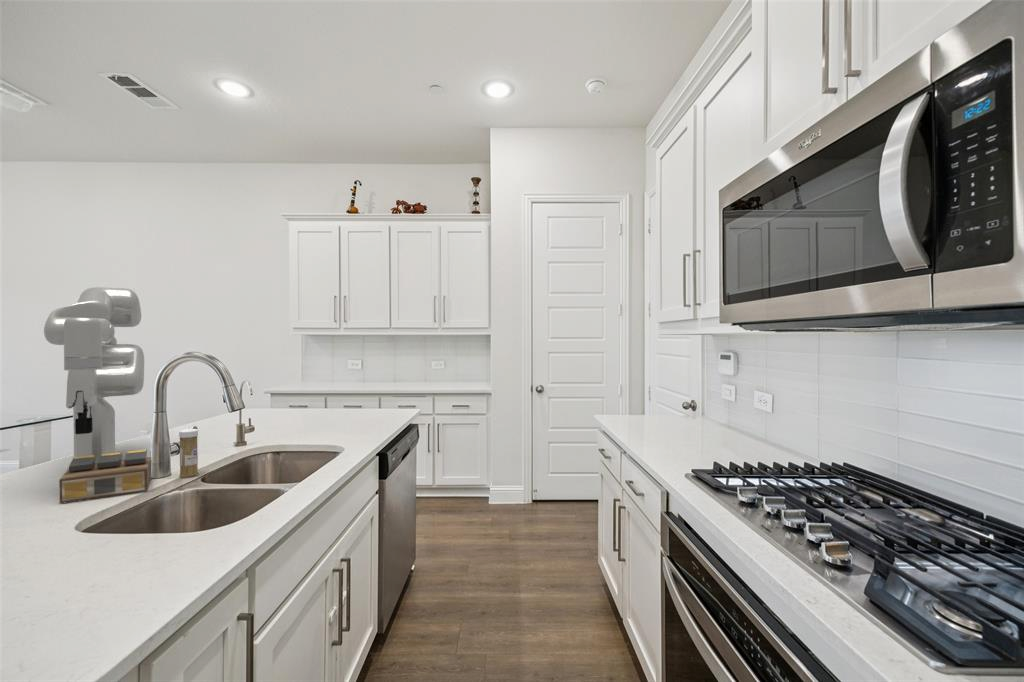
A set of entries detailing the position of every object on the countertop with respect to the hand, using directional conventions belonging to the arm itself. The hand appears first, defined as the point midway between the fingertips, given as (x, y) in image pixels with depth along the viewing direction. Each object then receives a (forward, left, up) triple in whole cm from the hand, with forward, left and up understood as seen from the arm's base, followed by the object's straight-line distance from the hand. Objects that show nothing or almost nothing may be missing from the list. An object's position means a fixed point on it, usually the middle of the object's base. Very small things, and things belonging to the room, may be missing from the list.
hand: (84, 433), depth 127 cm
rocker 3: (+2, +11, -8) cm, 14 cm away
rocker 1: (+2, 0, -8) cm, 8 cm away
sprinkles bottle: (-1, +23, -15) cm, 28 cm away
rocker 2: (+2, +5, -8) cm, 10 cm away
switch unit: (+3, +5, -15) cm, 16 cm away
